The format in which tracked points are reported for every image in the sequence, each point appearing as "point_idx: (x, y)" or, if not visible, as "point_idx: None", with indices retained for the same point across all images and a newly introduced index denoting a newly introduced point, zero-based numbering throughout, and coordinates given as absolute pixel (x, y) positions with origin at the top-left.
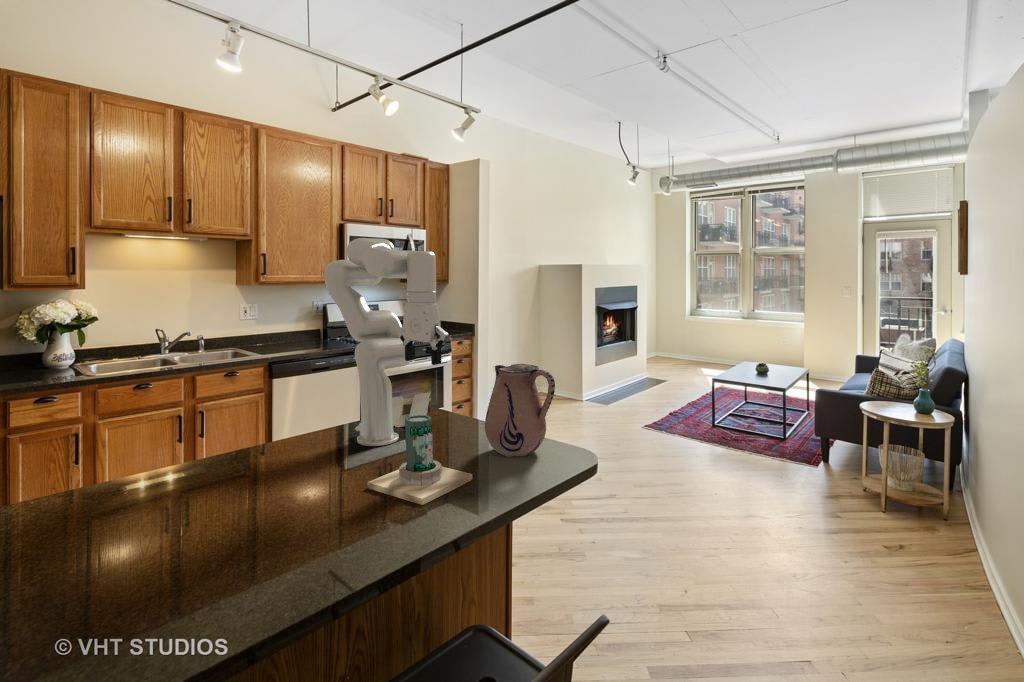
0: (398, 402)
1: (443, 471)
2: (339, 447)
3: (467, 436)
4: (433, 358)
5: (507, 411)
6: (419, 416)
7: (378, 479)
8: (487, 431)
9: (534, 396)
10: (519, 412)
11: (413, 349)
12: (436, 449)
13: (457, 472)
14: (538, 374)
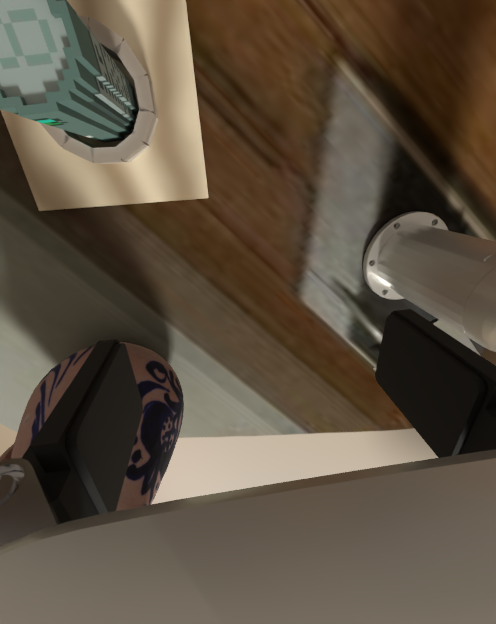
0: None
1: (103, 180)
2: (452, 169)
3: (265, 375)
4: (79, 376)
5: (49, 410)
6: (61, 89)
7: (175, 10)
8: (133, 356)
9: None
10: (23, 425)
11: (427, 425)
12: (260, 293)
13: (73, 196)
14: None
